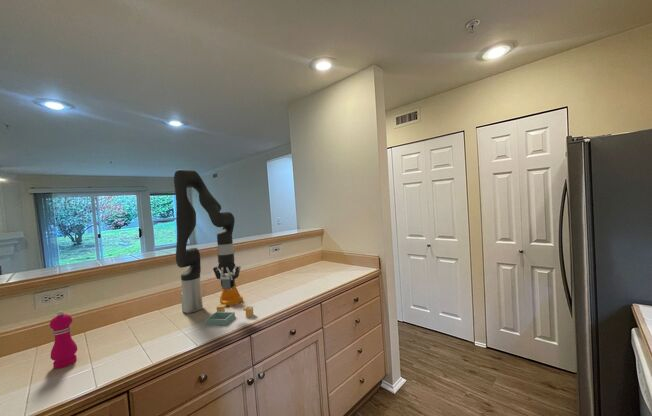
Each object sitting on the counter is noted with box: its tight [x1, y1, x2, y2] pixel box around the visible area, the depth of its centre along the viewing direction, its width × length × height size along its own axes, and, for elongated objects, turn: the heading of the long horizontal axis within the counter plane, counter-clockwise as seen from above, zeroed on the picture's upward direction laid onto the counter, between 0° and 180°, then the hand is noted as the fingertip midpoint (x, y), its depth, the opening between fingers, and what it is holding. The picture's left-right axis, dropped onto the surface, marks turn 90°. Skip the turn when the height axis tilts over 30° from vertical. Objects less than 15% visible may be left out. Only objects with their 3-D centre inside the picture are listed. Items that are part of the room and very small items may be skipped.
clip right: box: [243, 306, 254, 318], centre depth 133 cm, size 4×3×4 cm
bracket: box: [219, 283, 244, 307], centre depth 152 cm, size 11×7×12 cm, turn 129°
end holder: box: [205, 311, 236, 326], centre depth 129 cm, size 10×8×2 cm
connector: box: [221, 274, 231, 290], centre depth 133 cm, size 4×4×6 cm
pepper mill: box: [49, 310, 78, 369], centre depth 100 cm, size 7×7×20 cm
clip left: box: [216, 304, 227, 312], centre depth 138 cm, size 4×3×4 cm
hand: (228, 286), depth 133 cm, fingers closed on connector, 4 cm apart
